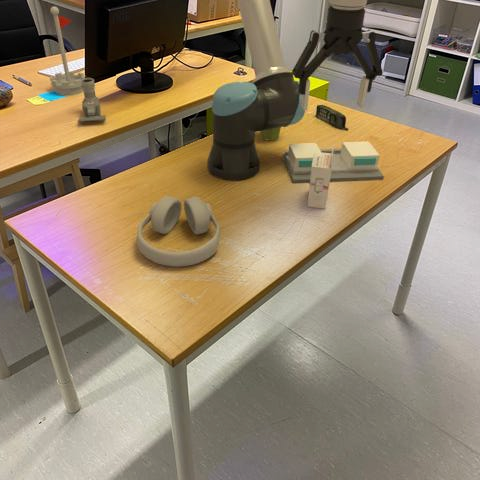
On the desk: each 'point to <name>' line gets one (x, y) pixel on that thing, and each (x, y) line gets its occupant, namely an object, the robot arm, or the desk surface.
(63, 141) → the desk surface
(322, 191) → the ink cartridge box
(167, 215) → the headphones
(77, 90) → the flag stand
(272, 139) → the plant pot
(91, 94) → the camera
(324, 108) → the mobile phone
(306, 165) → the rail panel
